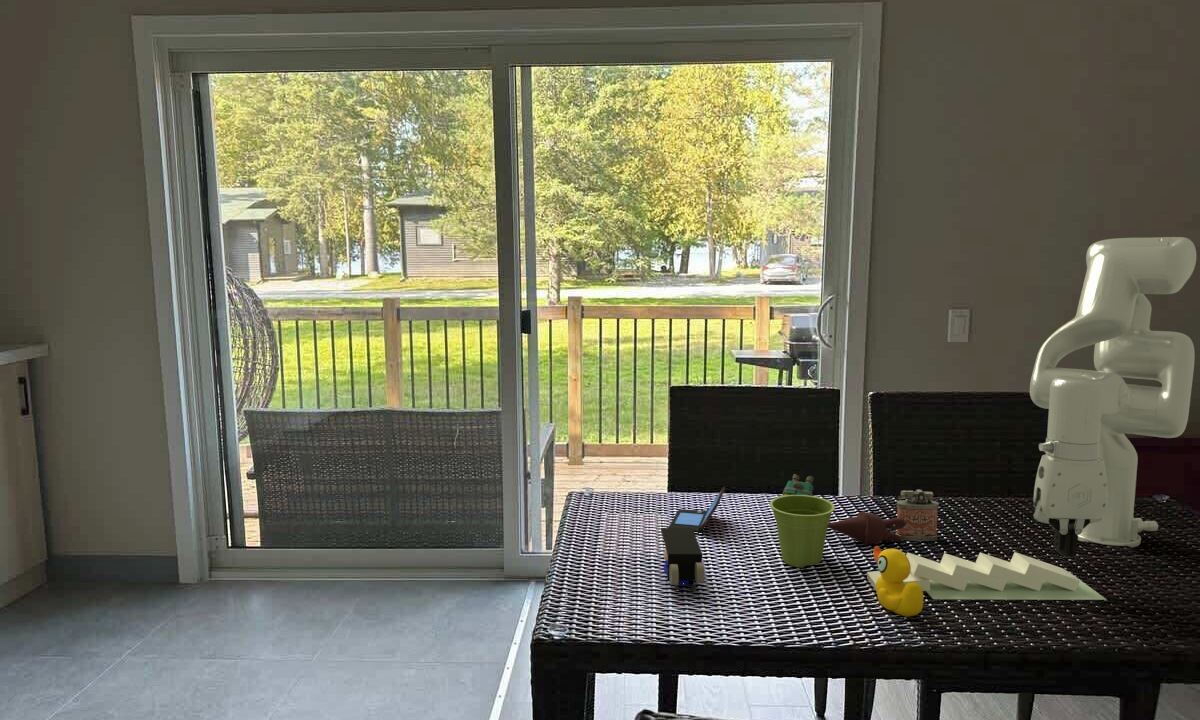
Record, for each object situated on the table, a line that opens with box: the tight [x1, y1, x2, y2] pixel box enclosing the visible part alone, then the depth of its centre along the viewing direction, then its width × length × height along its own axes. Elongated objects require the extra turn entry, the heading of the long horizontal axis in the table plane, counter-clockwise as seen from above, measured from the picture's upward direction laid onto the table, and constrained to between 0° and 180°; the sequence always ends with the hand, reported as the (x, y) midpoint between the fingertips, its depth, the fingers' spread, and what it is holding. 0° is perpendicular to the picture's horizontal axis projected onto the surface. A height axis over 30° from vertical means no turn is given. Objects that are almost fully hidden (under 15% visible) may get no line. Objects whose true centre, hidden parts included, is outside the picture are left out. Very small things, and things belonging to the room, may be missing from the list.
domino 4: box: [975, 552, 1044, 591], centre depth 129 cm, size 2×5×9 cm
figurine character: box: [660, 527, 706, 592], centre depth 136 cm, size 7×8×15 cm
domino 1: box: [866, 570, 930, 592], centre depth 130 cm, size 2×5×9 cm
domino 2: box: [905, 552, 968, 591], centre depth 130 cm, size 2×5×9 cm
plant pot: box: [769, 495, 836, 569], centre depth 142 cm, size 12×12×11 cm
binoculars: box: [781, 473, 814, 496], centre depth 165 cm, size 9×9×10 cm
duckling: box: [873, 545, 924, 618], centre depth 122 cm, size 11×5×10 cm, turn 15°
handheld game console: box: [668, 486, 726, 533], centre depth 163 cm, size 12×11×7 cm
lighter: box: [895, 489, 940, 542], centre depth 153 cm, size 8×3×10 cm, turn 84°
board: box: [926, 571, 1107, 601], centre depth 130 cm, size 28×11×1 cm, turn 87°
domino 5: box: [1009, 551, 1081, 591], centre depth 129 cm, size 2×5×9 cm
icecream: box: [827, 510, 906, 546], centre depth 150 cm, size 7×8×15 cm
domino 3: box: [939, 552, 1007, 591], centre depth 129 cm, size 2×5×9 cm
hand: (1065, 553), depth 128 cm, fingers closed
